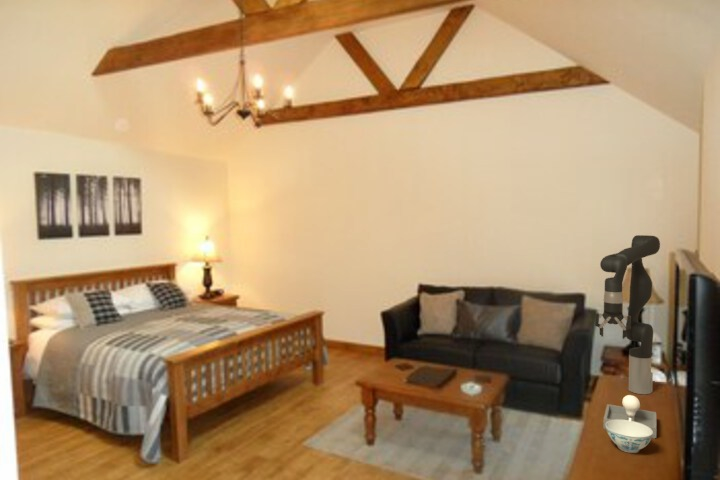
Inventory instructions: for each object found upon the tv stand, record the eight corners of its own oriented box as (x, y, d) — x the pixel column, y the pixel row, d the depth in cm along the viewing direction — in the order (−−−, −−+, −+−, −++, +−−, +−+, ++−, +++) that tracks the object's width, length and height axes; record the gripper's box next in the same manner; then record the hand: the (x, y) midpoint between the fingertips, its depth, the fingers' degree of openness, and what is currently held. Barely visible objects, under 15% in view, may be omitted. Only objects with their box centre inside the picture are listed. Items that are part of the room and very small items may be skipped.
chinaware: (599, 449, 178) (599, 428, 178) (613, 435, 189) (613, 416, 188) (645, 463, 168) (645, 440, 167) (657, 448, 178) (657, 427, 178)
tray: (607, 413, 211) (607, 404, 210) (656, 421, 201) (656, 412, 201) (603, 428, 195) (603, 418, 195) (656, 438, 186) (656, 428, 186)
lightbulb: (622, 423, 197) (623, 396, 196) (620, 418, 203) (621, 391, 202) (640, 426, 195) (641, 399, 194) (638, 420, 200) (639, 394, 200)
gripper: (631, 301, 220) (631, 337, 220) (596, 298, 227) (596, 333, 228) (631, 303, 213) (630, 340, 214) (594, 301, 221) (594, 337, 221)
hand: (612, 337), depth 221 cm, fingers open, 8 cm apart
